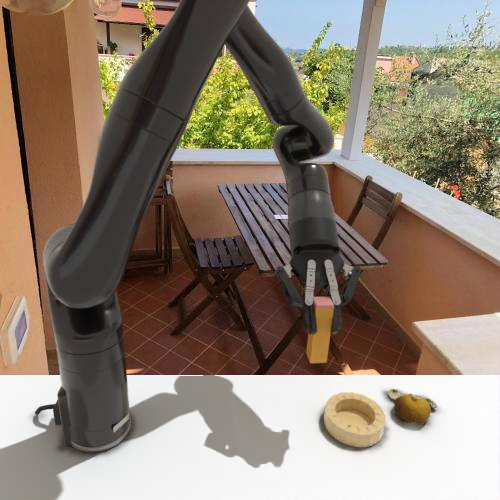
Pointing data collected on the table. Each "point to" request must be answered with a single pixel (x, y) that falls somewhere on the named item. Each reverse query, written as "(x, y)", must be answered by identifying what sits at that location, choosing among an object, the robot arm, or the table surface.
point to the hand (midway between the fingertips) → (324, 332)
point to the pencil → (320, 330)
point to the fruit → (411, 407)
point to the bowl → (354, 419)
